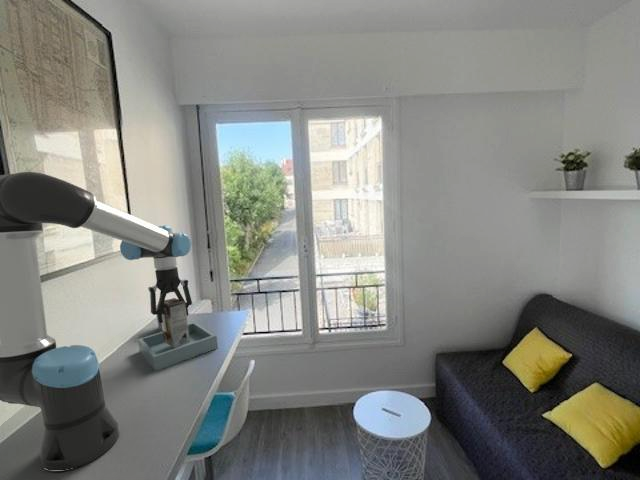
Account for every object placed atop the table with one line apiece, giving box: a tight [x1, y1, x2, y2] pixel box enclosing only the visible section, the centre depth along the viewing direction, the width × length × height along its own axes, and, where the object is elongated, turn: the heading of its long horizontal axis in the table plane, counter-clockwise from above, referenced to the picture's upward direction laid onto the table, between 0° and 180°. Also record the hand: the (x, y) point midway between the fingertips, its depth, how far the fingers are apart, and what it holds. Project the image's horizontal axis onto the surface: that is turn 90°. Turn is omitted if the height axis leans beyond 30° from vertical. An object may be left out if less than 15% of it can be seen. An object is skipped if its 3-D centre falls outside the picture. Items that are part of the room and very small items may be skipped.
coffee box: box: [157, 297, 190, 348], centre depth 130 cm, size 9×6×16 cm
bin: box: [137, 321, 219, 372], centre depth 131 cm, size 22×22×5 cm
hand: (175, 327), depth 130 cm, fingers closed on coffee box, 7 cm apart
